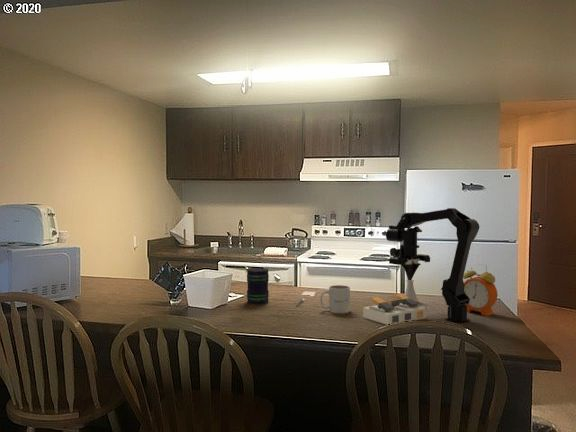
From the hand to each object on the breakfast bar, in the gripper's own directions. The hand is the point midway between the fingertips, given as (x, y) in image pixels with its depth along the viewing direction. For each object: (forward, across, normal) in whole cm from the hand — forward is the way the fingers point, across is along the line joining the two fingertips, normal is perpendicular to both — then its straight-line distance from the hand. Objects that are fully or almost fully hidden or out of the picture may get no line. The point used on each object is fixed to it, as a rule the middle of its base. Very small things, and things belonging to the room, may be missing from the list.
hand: (409, 280), depth 198 cm
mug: (+13, +26, -17) cm, 34 cm away
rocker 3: (+8, +7, +5) cm, 12 cm away
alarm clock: (+13, -22, +17) cm, 31 cm away
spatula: (+14, +25, -42) cm, 51 cm away
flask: (+13, -14, -13) cm, 23 cm away
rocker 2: (+8, +13, +5) cm, 17 cm away
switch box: (+13, +14, +5) cm, 19 cm away
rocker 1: (+8, +20, +5) cm, 22 cm away
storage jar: (+13, +46, -48) cm, 68 cm away
